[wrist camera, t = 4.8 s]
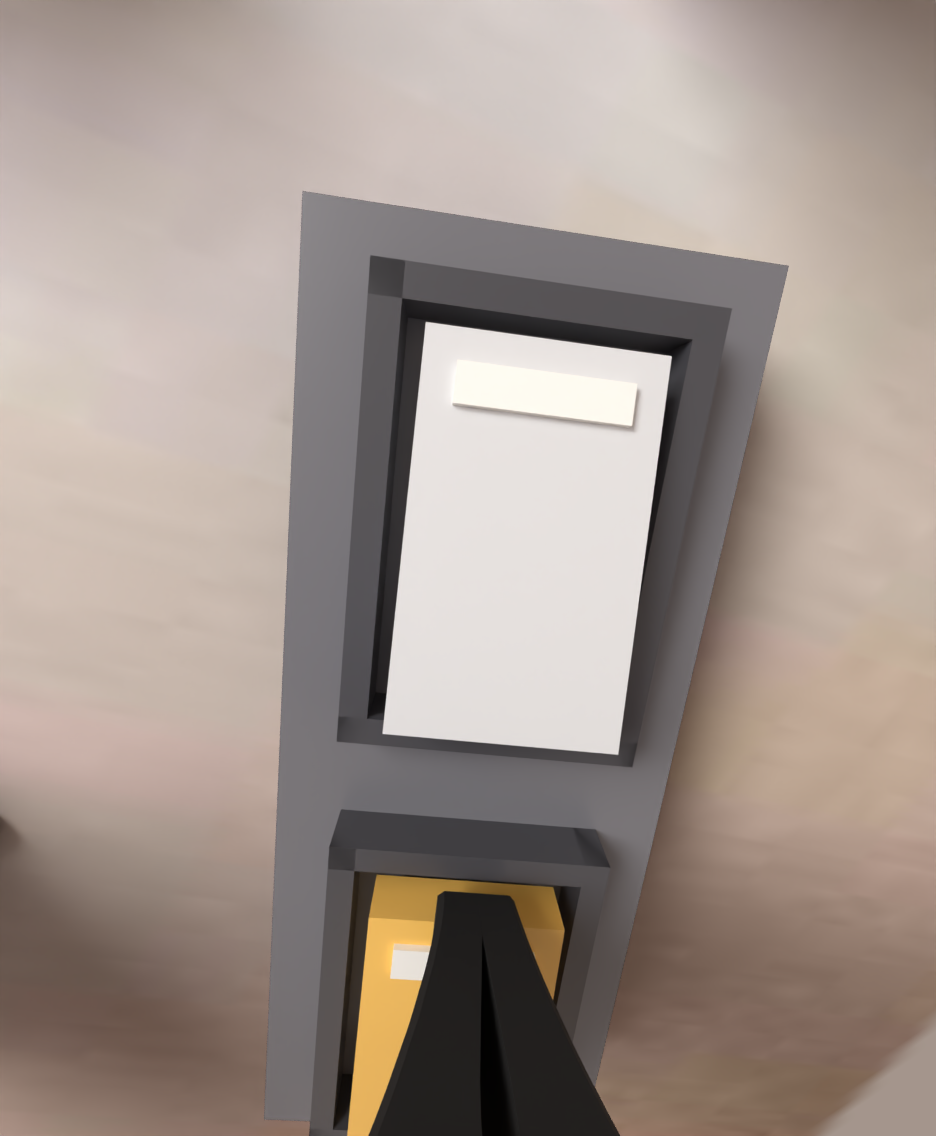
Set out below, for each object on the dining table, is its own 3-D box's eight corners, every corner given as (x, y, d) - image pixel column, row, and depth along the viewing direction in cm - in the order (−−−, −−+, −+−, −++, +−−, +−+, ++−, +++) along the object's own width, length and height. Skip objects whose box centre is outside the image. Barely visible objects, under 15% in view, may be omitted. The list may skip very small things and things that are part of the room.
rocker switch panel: (558, 1003, 15) (595, 1189, 11) (300, 989, 15) (247, 1177, 11) (699, 316, 11) (834, 240, 7) (343, 264, 11) (281, 152, 7)
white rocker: (596, 728, 8) (621, 758, 7) (389, 709, 8) (381, 737, 7) (643, 378, 8) (675, 353, 7) (427, 348, 8) (425, 317, 7)
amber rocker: (514, 1125, 11) (522, 1197, 10) (352, 1119, 11) (341, 1192, 10) (552, 886, 10) (566, 936, 9) (376, 874, 10) (367, 923, 9)
